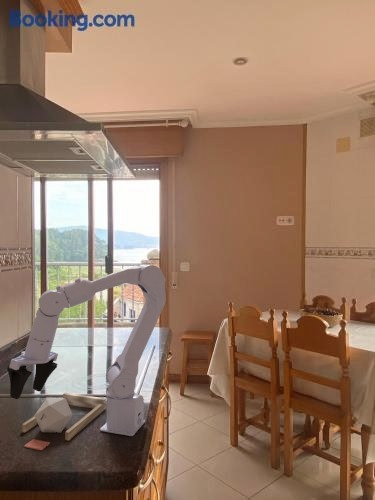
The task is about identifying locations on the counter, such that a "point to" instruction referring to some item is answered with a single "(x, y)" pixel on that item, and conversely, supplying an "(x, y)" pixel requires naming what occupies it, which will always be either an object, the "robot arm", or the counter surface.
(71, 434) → the channel
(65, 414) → the die
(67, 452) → the counter surface
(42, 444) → the mat
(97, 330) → the counter surface
